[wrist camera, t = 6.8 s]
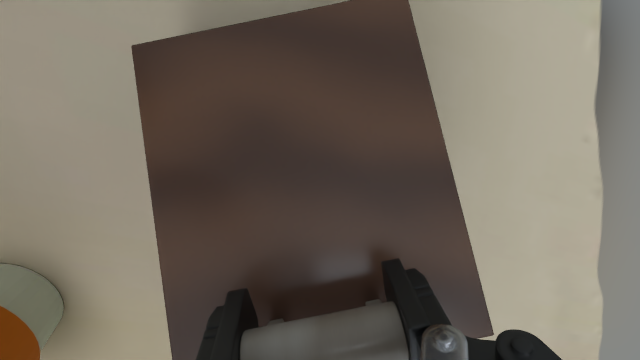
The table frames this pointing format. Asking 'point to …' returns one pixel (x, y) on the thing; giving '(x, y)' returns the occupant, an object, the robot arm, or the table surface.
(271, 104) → the case lid
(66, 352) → the table surface
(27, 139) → the table surface
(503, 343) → the robot arm
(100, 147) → the table surface
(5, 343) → the reusable coffee cup
